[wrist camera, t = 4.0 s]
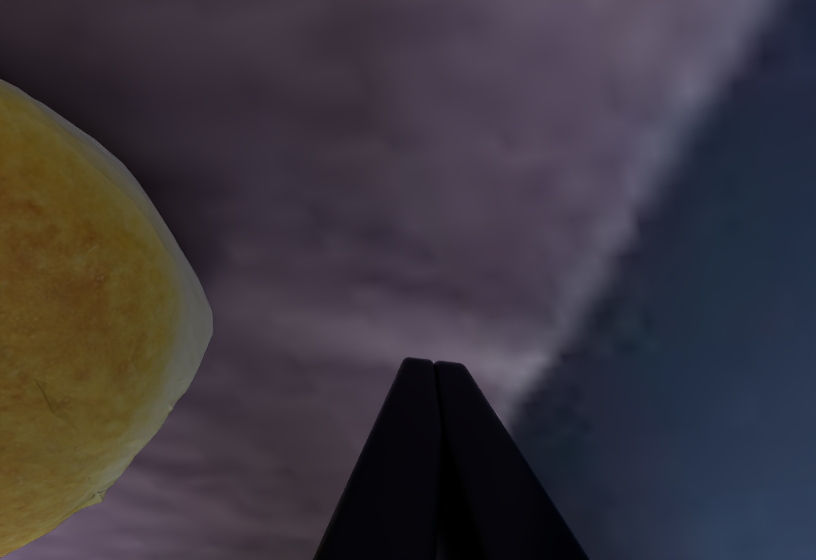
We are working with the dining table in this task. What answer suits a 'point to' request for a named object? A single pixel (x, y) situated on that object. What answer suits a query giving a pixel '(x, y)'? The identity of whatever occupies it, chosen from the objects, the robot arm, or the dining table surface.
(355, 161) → the dining table surface
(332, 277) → the dining table surface
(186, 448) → the dining table surface
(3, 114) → the bread roll
